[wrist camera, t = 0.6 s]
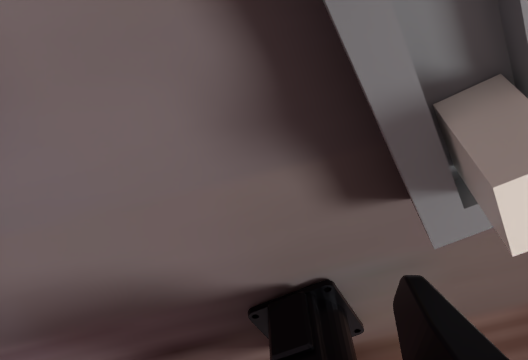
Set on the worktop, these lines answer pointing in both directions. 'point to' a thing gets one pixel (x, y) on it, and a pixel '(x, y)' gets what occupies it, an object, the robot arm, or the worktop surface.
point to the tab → (492, 153)
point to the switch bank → (430, 87)
